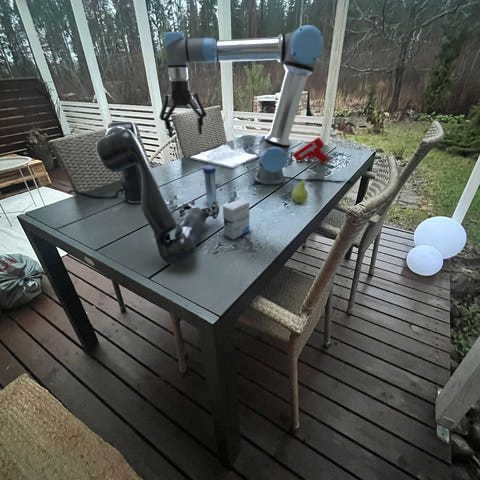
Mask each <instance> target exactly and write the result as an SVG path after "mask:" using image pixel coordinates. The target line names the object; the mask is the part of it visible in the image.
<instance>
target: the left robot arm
mask: <svg viewBox="0 0 480 480" xmlns="http://www.w3.org/2000/svg"><path fill="white" fill-rule="evenodd" d="M137 134H138V133H137V129H136V126H135V124H134V123H133V122H132V121H116V122H110V123H108V124H107V126H106V133H105V135H104V137H102V138H100V139H98V141H97V142H95V151H96V155H97V157H98V160H99V161H100V163H101V164H102V165H103V166H104V167H105V169H107V170H108V171H110V172H113V173H119V172H120V175H121V177H122V180H121V186H122V187H121V188H120V189H118V190H116V191H115V195H112V196H104V195H95V194H90V193H87V192H83V191H79V190H75V189H70V190H68V192H67V195H68V194H71V193H76V194H80V195H85V196H88V197H92V198H99V199H115V198H117V197H118V196H119V195H118V194H119V193H120V192H121V194H123V195H124V199H125V201H126V203H129V204H133V205H134V204H135V205H136V204H137V205H138V204H140V207H141V211H142V214H143V216H144V218H145V219H146V222H147V223H148V226H150V228H151V230H152V232H153V235H154V239H155V242H156V247H157V251H158V254H159V257H160V258H161V259H162V261H163V262H164V263H166V264H168V265H176V264H177V263H181V262H183V261H185V260H188V259H190V258H192V257H194V255H195V253H196V252H197V239H198V237H199V234H200V233H201V232H202V230H203V228H204V226H205V224H206V221H207V219H208V218H210V217H212V219H213V220H215V219H217V218H218V216H219V214H220V205H217V203H218V202H217V203H216V202H215V201H213V203H212V205H206V206H203V207H198V206H196V207H195V205H196V203H195V199H192V200H191V201H189V203H187V204H186V203H182V204H181V207H180V208H179V210H178V211H179V217H180V218H182V219H181V221H180V222H179V225H178V226H177V222H176V219H175V217H174V215H173V213H172V212H171V210H170V208H169V206H168V205H167V203H166V201H165V199H164V197H163V194H162V192H161V190H160V187H159V184H158V181H157V180H156V177H155V175H154V172H153V170H152V168H151V165H150V163H149V161H148V158H147V156H146V154H145V152H144V150H143V148H142V145H141V144H140V142H139V139H138V135H137ZM176 227H177V228H176ZM175 228H176V229H175ZM173 230H175V233H174V238H172V239H171V232H173Z"/></svg>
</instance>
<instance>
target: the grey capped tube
mask: <svg viewBox="0 0 480 480" xmlns="http://www.w3.org/2000/svg"><path fill="white" fill-rule="evenodd" d="M203 173H204V172H203ZM204 183H205V184H204V185H205V197H206V198H205V199H206V205H207V206H211V205H212V203H213V201H215V202H216V203H218V201H217V186H216V185H217V184H216V172H215V173H212V174H206V173H204Z"/></svg>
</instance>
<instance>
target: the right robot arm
mask: <svg viewBox="0 0 480 480" xmlns="http://www.w3.org/2000/svg"><path fill="white" fill-rule="evenodd" d="M163 40H164V49H165V57H166V63H167V70H168V78H169V80H170V81H169V86H170V91H171V92H170V94H163V103H162V106H161V110H160V113H159V117H158V118H159V120H160V121H163V122H164V128H165V130H167V133H168V137H169V139H171V138H173V133H172V127H171V121H170V120H169V119H170V118H171V116H172V114H173V113H174V111H175V109H176V108H177V107H182V106H183V107H187V106H188V107H189V108H190V109H191V110H192V111H193V112H194V114H195V115H196V116H197V118H196V121H197V130H198V131H197V132H198V134H199V135H203V129H202V128H203V126H204V117H207V112H206V111H205V109H204V106H203V105H202V103H201V101H200V99H199V95H198V93H197V92H193V93H191V92H190V82H189V80H188V79H189V73H188V71H189V70H188V63H205V64H209V63H210V64H211V63H221V62H223V63H224V62H225V63H226V62H248V61H251V62H252V61H273V60H277V61H278V63H283V67H284V70H285V73H284V78H283V81H282V84H281V85H282V86H281V90H280V93H279V98H278V100H277V104H276V108H275V112H274V116H273V120H272V124H271V127H270V131H269V133H268V134H263V135H261V136H260V137H259V153H258V157H259V158H258V167H257V171H256V173H255V177H254V181H255V183H258V184H259V185H262V186H263V185H264V186H279V185H281V184H283V183H284V181H285V179H287V180H292V181H298V182H301V181H302V180H305V179H306V178H295V177H291V176H290V177H289V176H285V175H284V172H283V171H284V170H283V169H284V168H285V167H286V165H287V163H288V159H289V158H288V153H289V150H290V147H291V141H290V139H289V138H290V136H291V132H292V129H293V125H294V121H295V119H296V115H297V112H298V108H299V105H300V102H301V99H302V95H303V92H304V89H305V85H306V82H307V79H308V77H309V76H310V75H312V74H314V73H313V72H314V70H315V66H316V62H317V60H318V59H319V58H320V56H321V54H322V52H323V50H324V49H323V48H324V37H323V35H322V32H321V30H320V29H319V28H318V27H316V26H314V25H311V24H305V25H301V26H300V27H298V28H297V29H295V31H292V32H289V33H280V34H279V35H278V37H276V36H275V37H261V38H260V37H258V38H237V39H236V38H235V39H218V40H216V39H215V38H213V37H199V38H198V37H197V38H186V37H185V35H184V32H183V31H166V32H165V33H164V35H163ZM191 99H192V100H194V102H195V104H196V105H197V108H198V109H199V110H198V109H197V108H196V106H195V105H194V104H193V103H192V101H191ZM170 100H171V101H172V103H171V105H170V107H169V108H168V104H169V101H170ZM167 108H168V111H167ZM323 179H324V178H307V179H306V180H305V182H309V181H314V182H315V181H316V182H317V181H318V182H319V181H320V182H331V183H344V182H345V181H341V180H335V181H332V180H333V179H328V180H323ZM346 182H347V183H349V184H351V181H350V180H349V181H346Z"/></svg>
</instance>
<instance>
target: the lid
mask: <svg viewBox="0 0 480 480" xmlns="http://www.w3.org/2000/svg"><path fill="white" fill-rule="evenodd" d="M202 169H203V170H202V171H203V173H206V174H212V173H215V174H216V171H217V169H216V165H205V166H203V167H202Z"/></svg>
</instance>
